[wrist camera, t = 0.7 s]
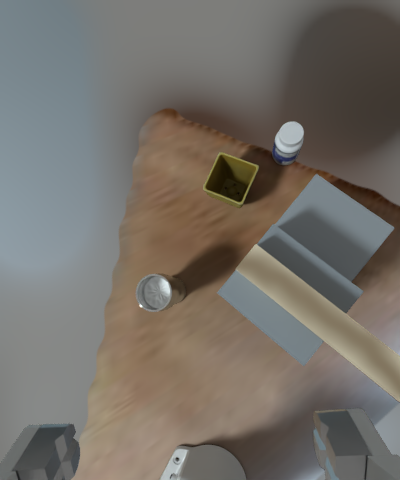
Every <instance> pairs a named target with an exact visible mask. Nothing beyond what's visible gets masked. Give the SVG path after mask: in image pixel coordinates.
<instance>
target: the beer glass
mask: <svg viewBox="0 0 400 480" xmlns="http://www.w3.org/2000/svg"><path fill="white" fill-rule="evenodd" d="M185 294H186V287H185V284H184V283H183V281H182V280H180V279H179V278H176V277H171V276H169V275H166V274H150V275H147V276H145V277H144V278H142V279H141V280H140V282H139V283H138V285H137V288H136V298H137V301H138V303H139V305H140V306H141V307H142V308H143V309H145V310H147V311H150V312H157V311H164V310H167V309H169V308H171V307H172V306H173V305H174V304H177V303H179V302H181V301H182V300H183V299H184V297H185Z"/></svg>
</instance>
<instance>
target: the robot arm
mask: <svg viewBox="0 0 400 480" xmlns="http://www.w3.org/2000/svg"><path fill="white" fill-rule="evenodd" d="M313 421H314V424H315V427H316V428H315V430H314V431H313V442H314V448H315V453H316V456H317V459H318V462H319V465H320V466H321V467H322V468H323V469H324V470H325V480H400V457H399V456H398V455H392V454H391V453H390V451H389V450H388V448H387V446H386V445H385V443H384V442H383V440H382V439H381V437H380V435H379V434H378V432H377V431H376V429H375V427H374V426H373V424H372V423H371V421H370V419H369V418H368V416H367V415H366V413H365V411H364V410H363V409H361V408H355V409H345V410H344V409H338V410H322V411H314V413H313ZM75 433H76V431H75V427H74V425H73V424H43V425H29V426H27V427H26V428H25V429H24V430H23V431H22V433H21V434H20V436H19V437H18V439H17V440H16V442H15V443H14V444H13V446H12V447H11V449H10V450H9V452H8V453H7V455H6V456H5V457H4V459H3V460H2V462H1V463H0V480H71V479H72V478H73V477H74V475H75V473H76V470H77V468H78V464H79V459H80V447H79V443H78V442H77V441H76V440H75V439H74V438H73V437H74V435H75ZM176 457H178V458H179V460H177V459H176ZM159 480H246V476H245V473H244V470H243V468H242V466H241V464H240V463H239V461H238V460H237V459H236V458H235V457H234V456H233V455H232V454H231V453H230V452H229V451H227V450H226V449H224V448H222V447H219V446H215V445H201V446H197V447H187V446H178V447H177V448H176V449H175V451H174V453H173V454H172V456H171V458H170V460H169V462H168V464H167V466H166V468H165V470H164V472H163V474H162V476H161V477H160V479H159Z"/></svg>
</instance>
